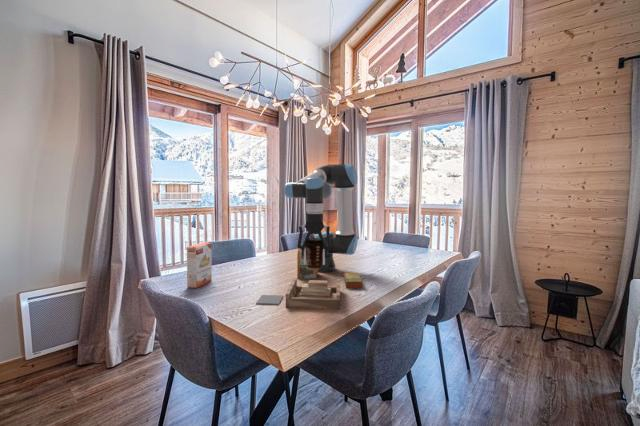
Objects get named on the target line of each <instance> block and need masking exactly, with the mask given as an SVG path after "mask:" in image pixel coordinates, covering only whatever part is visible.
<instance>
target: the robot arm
mask: <svg viewBox="0 0 640 426" xmlns="http://www.w3.org/2000/svg"><path fill="white" fill-rule="evenodd" d="M357 183H358V173H357V169H356V166H355V165H354V164H350V163H342V164H337V163H336V164H332V163H331V164H326V165H322V166H320V167H317V168H316V169H313V171H312V172H311V173H310V174H308V175H306V176H305V177H303V178H300V179H299V180H297V181H295V182H293V181H292V182H287V183H286V184H285V186H284V190H283V191H284V195H285V197H286V198H289V199H305V212H306V214H305V224H303V225H299V226H298V230H299V233H298V234H299V235H298V241H297V248H300V249H301V250H302V257H304V264H306V249H305V242H306V240H308V239H309V238H310V236H311V235H314V238H320V239H321V241H322V242H323V257H322V262H321V266H322V267H321V268H320V269H318V273H329V272H335V271H336V268H337V267H336V262H335V259H334V254H335V255H337V254H338V255H350V256H351V255H354V254H355V253H356V251H357V247H358V242H359V241H358V239H359V238H358V236H357V235H356V234H355V231H354V230H353V193H352V192H353V190H354V188H355V185H357ZM331 185H334V189H335V190H336V195H337V196H336V197H337V199H336V201H337V203H336V205H337V207H336V208H337V209H336V210H337V230H336V231H335V232H333V231H330V230H331V226H330V225H325V224H324V213H323V212H324V199H325V200H326V199H328V198H329V197H330V196H331V195H332V193H333V188H332V186H331ZM305 229H306V231H307V233H306V236H305V239H304V241H303V245H301V243H302V240H303V235H304V234H303V233H304V231H305ZM323 230H324V232H323Z"/></svg>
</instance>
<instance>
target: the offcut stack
mask: <svg viewBox="0 0 640 426" xmlns="http://www.w3.org/2000/svg"><path fill="white" fill-rule="evenodd" d="M301 286H302V290H301V291H300V295H301V296H317V297H318V296H319V297H321V296H322V297H323V296H325V297H326V296H327V297H331V294H332V292H331V288H328V287H329V284H328V280H317V279H308V282H307V283H303V284H302V285H301Z"/></svg>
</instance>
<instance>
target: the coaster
mask: <svg viewBox="0 0 640 426" xmlns="http://www.w3.org/2000/svg"><path fill="white" fill-rule="evenodd" d="M283 298H284V295H283V294H282V295H280V294H279V295H278V294H277V295H275V294H261V295H260V297H259V299H258V300H257V301H256V303H255V305H263V306H264V305H265V306H266V305H267V306H269V305H270V306H273V305H274V306H279V305H280V304H281V301H282V300H283Z"/></svg>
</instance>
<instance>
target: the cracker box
mask: <svg viewBox="0 0 640 426" xmlns="http://www.w3.org/2000/svg"><path fill="white" fill-rule="evenodd" d="M212 269H213V268H212V243H211V242H200V243H197V244H194V245H190V246H187V247H186V270H187V271H186V278H187V279H186V281H187V282H186V283H187V284H186V287H187V288H190V289H197V288H200V287H201V286H203V285H206V284H207V283H210V282H212V280H213V279H212V278H213V277H212V273H213V272H212V271H213V270H212Z"/></svg>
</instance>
